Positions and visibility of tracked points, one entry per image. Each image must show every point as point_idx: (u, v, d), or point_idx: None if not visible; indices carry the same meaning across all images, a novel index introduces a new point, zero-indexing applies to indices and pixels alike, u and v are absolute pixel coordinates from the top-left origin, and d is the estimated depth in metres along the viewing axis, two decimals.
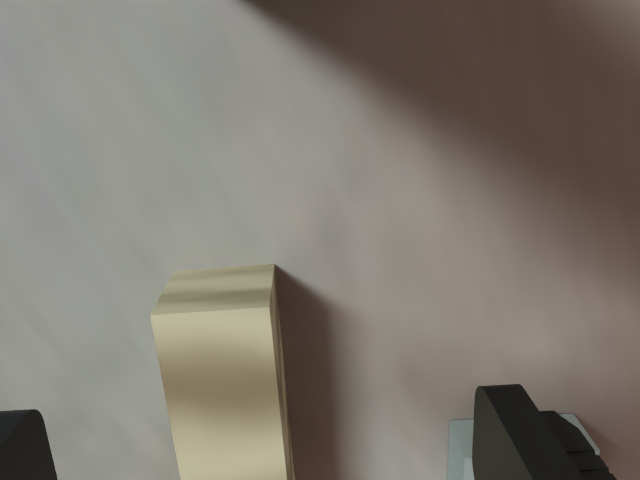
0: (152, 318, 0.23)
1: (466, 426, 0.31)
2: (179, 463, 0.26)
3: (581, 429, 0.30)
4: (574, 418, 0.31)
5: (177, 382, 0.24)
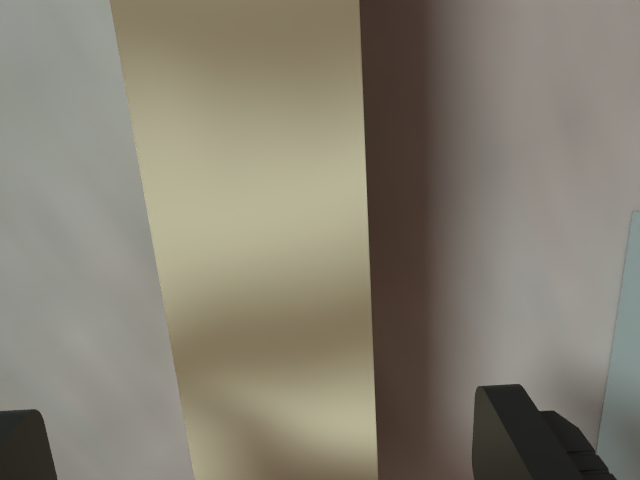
0: None
1: None
2: (150, 208, 0.13)
3: None
4: None
5: None
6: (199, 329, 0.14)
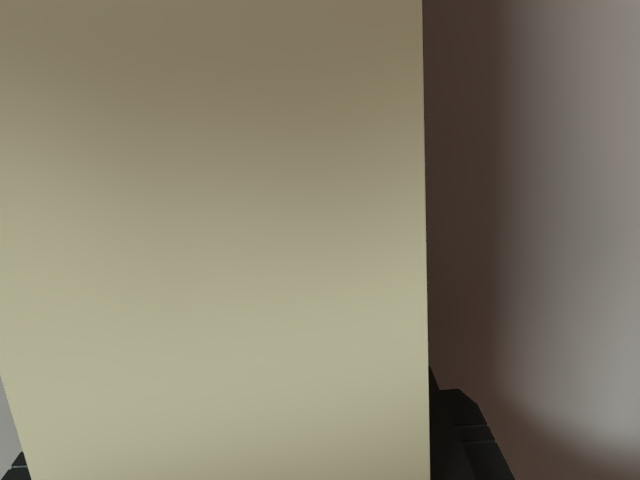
0: None
1: None
2: (9, 381, 0.07)
3: None
4: None
5: None
6: None
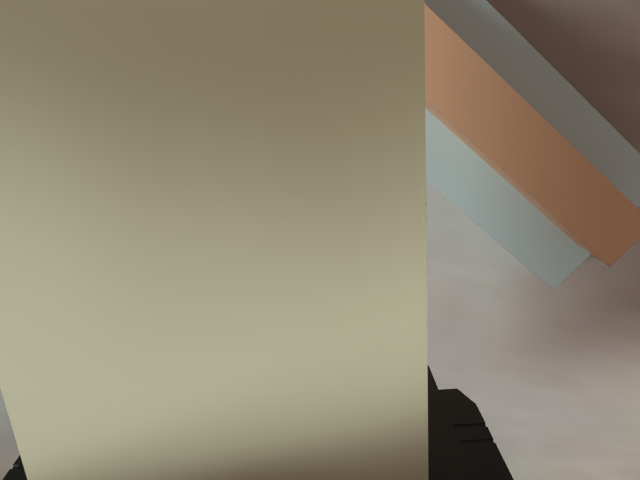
0: None
1: None
2: (6, 386, 0.06)
3: None
4: None
5: None
6: None
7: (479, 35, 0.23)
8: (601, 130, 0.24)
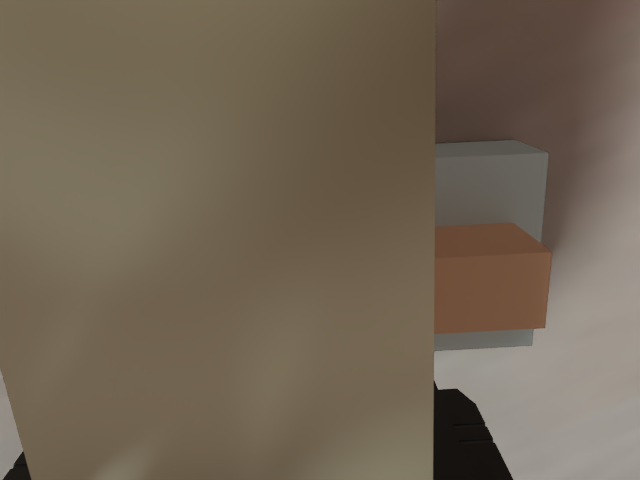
0: None
1: None
2: (12, 386, 0.06)
3: None
4: None
5: None
6: None
7: None
8: None
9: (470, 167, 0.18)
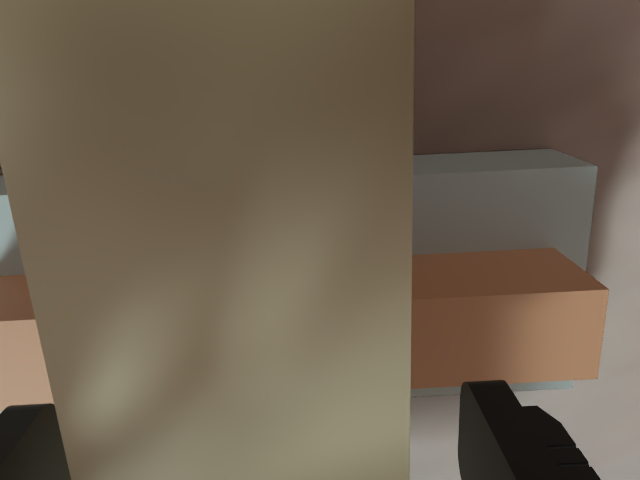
0: None
1: None
2: (45, 339, 0.07)
3: None
4: None
5: None
6: None
7: None
8: (448, 188, 0.15)
9: (504, 183, 0.15)
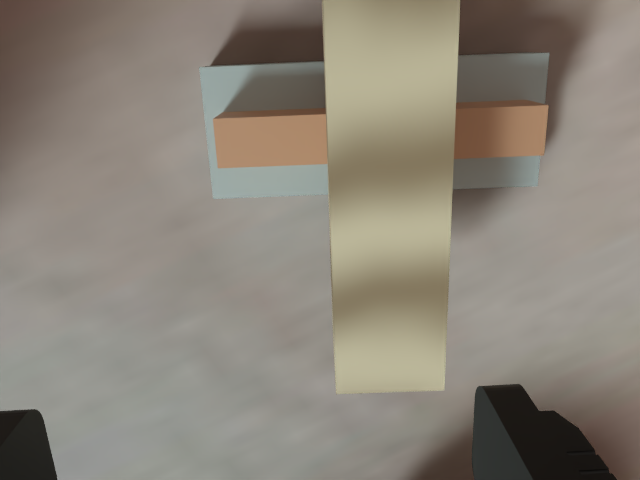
0: None
1: None
2: (327, 74, 0.21)
3: None
4: None
5: None
6: (347, 156, 0.22)
7: None
8: (469, 64, 0.29)
9: (499, 62, 0.29)
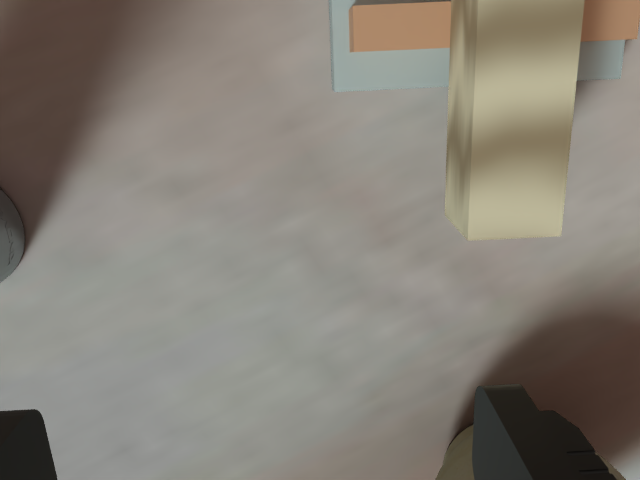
0: None
1: None
2: None
3: None
4: None
5: None
6: (493, 16, 0.26)
7: None
8: None
9: None
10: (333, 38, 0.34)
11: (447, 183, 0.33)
